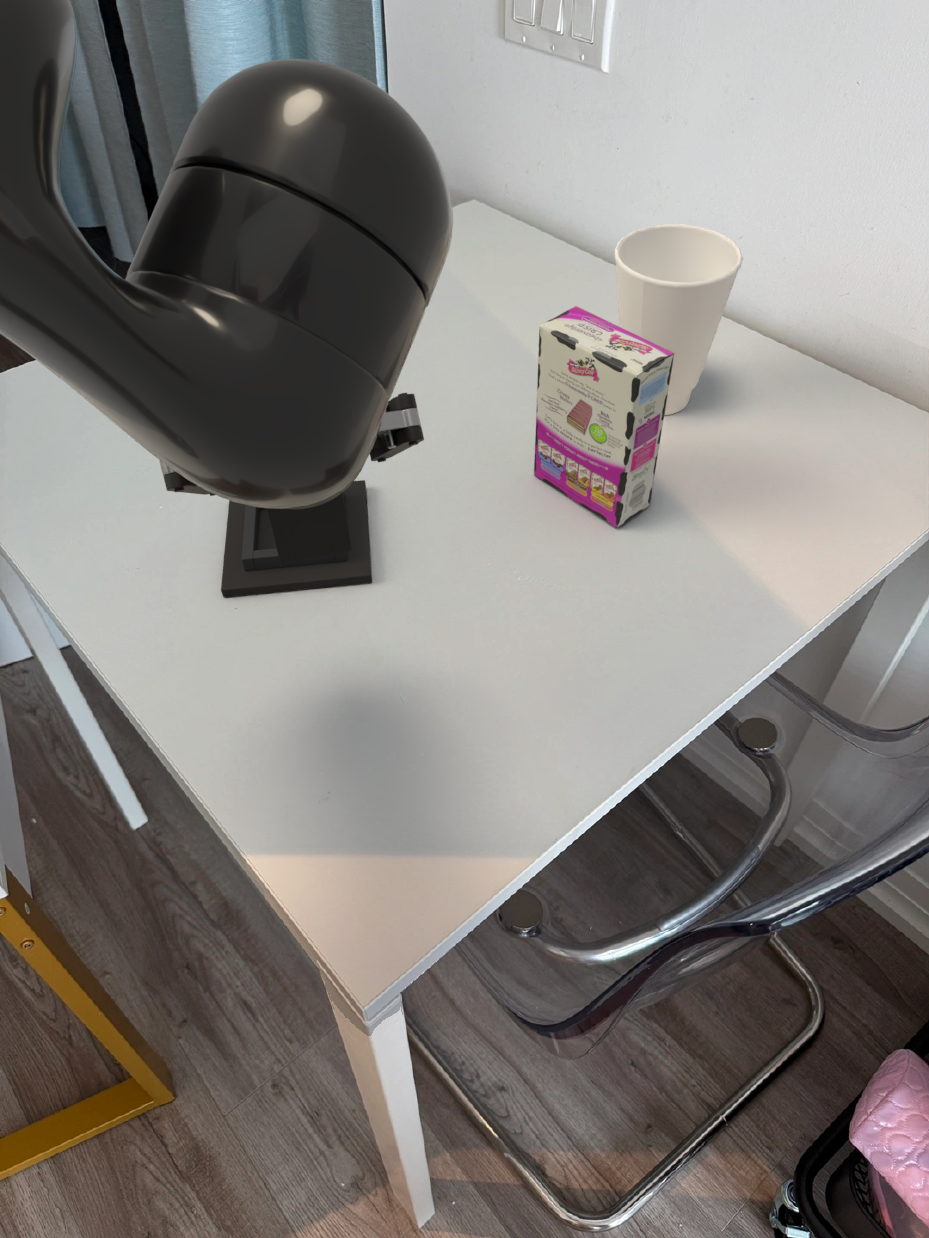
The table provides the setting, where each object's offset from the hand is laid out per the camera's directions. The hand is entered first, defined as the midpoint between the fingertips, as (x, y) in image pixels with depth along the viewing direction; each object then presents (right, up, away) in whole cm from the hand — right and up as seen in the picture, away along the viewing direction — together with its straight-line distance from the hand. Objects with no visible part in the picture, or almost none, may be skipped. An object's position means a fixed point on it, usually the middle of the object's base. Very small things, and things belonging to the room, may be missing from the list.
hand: (294, 465), depth 56 cm
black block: (+1, -4, +2) cm, 5 cm away
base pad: (-5, -2, +28) cm, 28 cm away
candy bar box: (+23, +3, +31) cm, 39 cm away
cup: (+31, +14, +41) cm, 53 cm away
